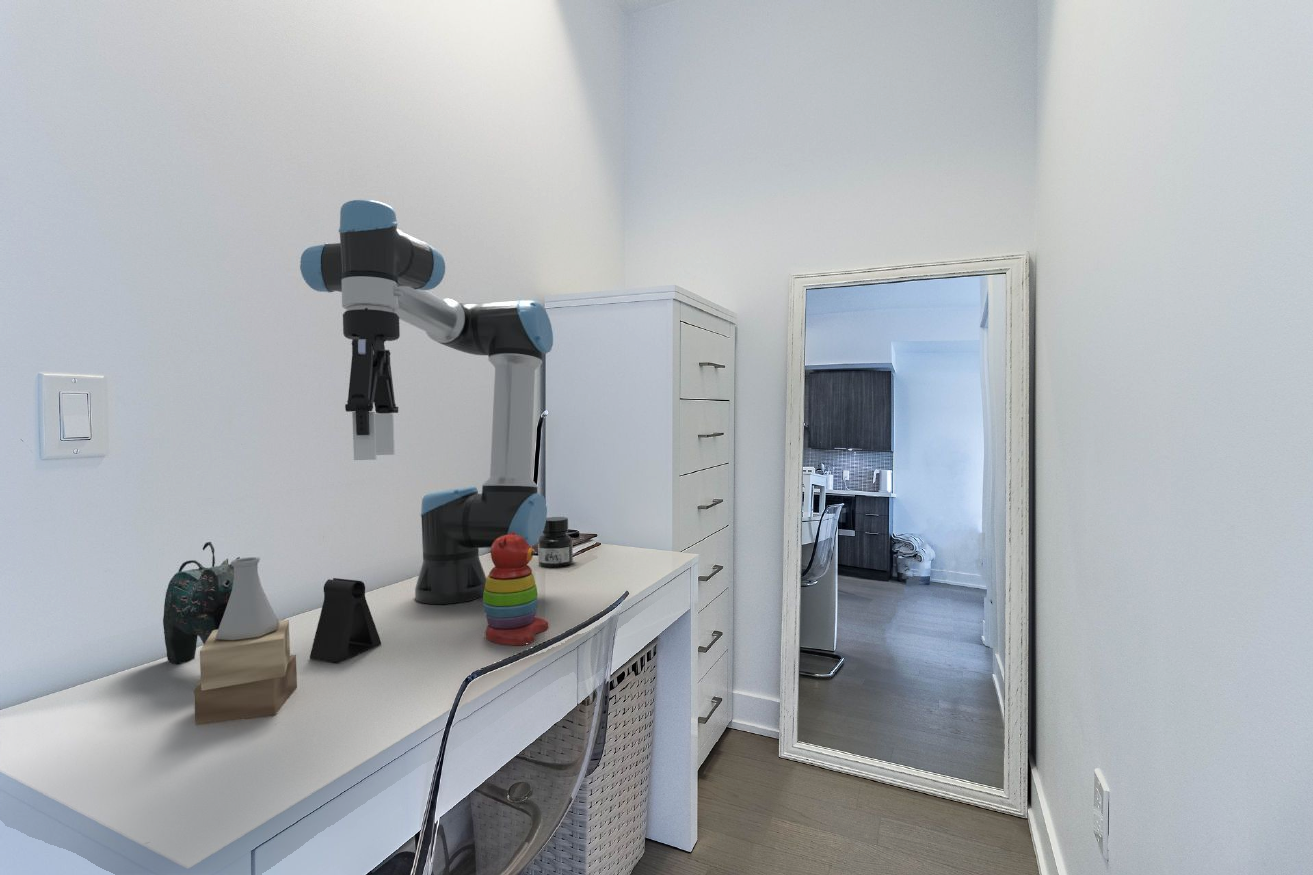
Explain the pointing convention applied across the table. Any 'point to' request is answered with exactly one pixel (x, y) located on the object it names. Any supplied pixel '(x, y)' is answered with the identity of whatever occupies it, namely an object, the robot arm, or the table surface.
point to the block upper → (244, 658)
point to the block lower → (245, 698)
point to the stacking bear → (511, 593)
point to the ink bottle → (555, 544)
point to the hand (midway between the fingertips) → (375, 457)
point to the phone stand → (344, 623)
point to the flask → (247, 605)
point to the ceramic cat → (195, 606)
